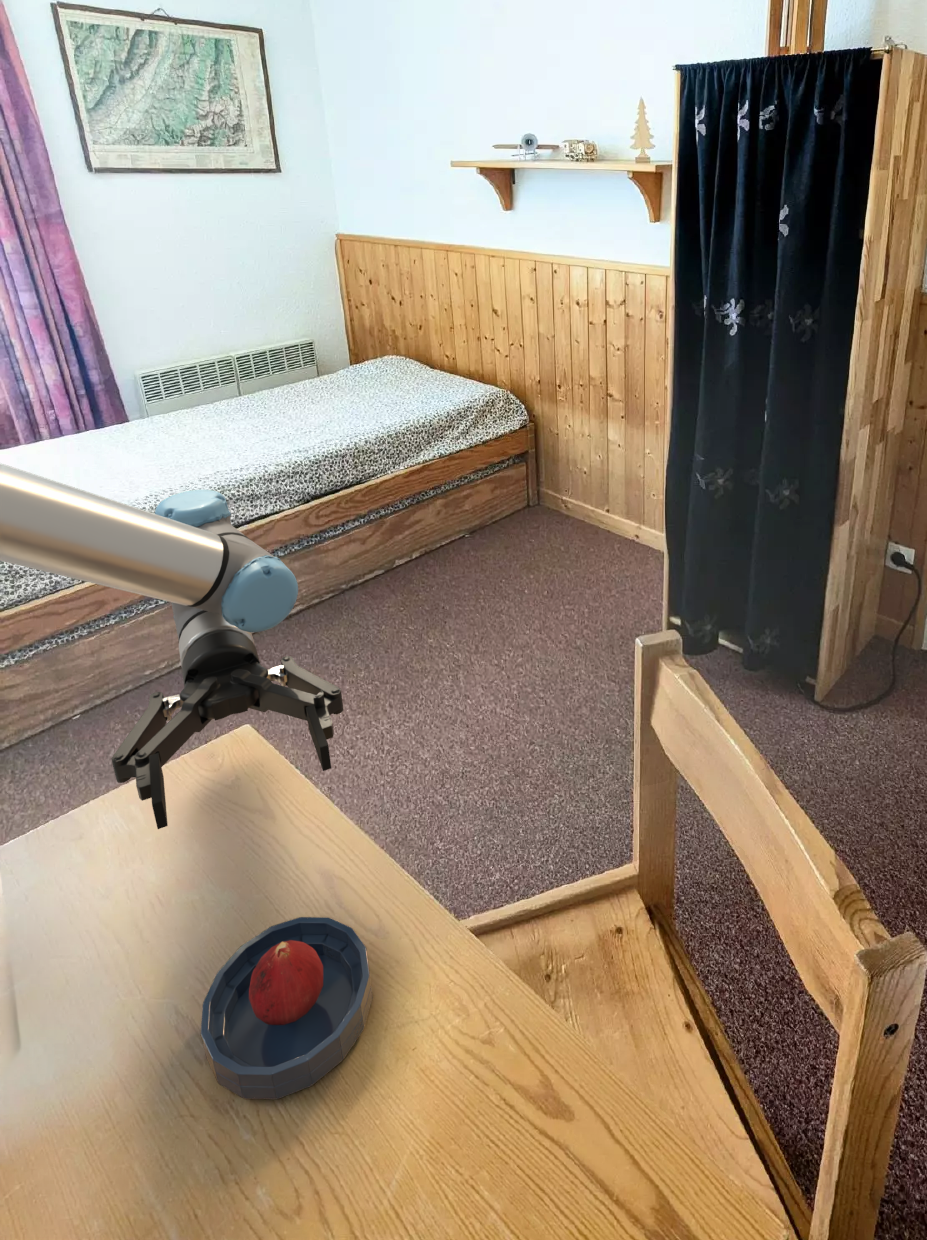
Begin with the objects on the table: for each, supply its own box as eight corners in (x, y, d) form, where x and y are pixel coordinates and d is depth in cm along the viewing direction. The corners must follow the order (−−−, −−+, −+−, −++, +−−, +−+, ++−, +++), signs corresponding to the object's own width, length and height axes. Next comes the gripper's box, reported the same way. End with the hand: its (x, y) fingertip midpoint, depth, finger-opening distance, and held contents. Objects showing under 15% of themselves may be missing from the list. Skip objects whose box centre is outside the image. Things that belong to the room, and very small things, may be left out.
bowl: (177, 1102, 62) (169, 1072, 60) (249, 942, 74) (244, 915, 73) (344, 1105, 61) (340, 1075, 60) (389, 944, 74) (386, 917, 73)
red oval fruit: (268, 1064, 64) (254, 996, 61) (246, 1007, 68) (232, 941, 65) (338, 1017, 67) (327, 950, 64) (313, 966, 71) (302, 901, 69)
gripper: (338, 654, 94) (389, 768, 77) (94, 724, 82) (90, 877, 65) (332, 600, 91) (383, 705, 74) (79, 664, 79) (70, 806, 62)
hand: (246, 785), depth 69 cm, fingers open, 13 cm apart
